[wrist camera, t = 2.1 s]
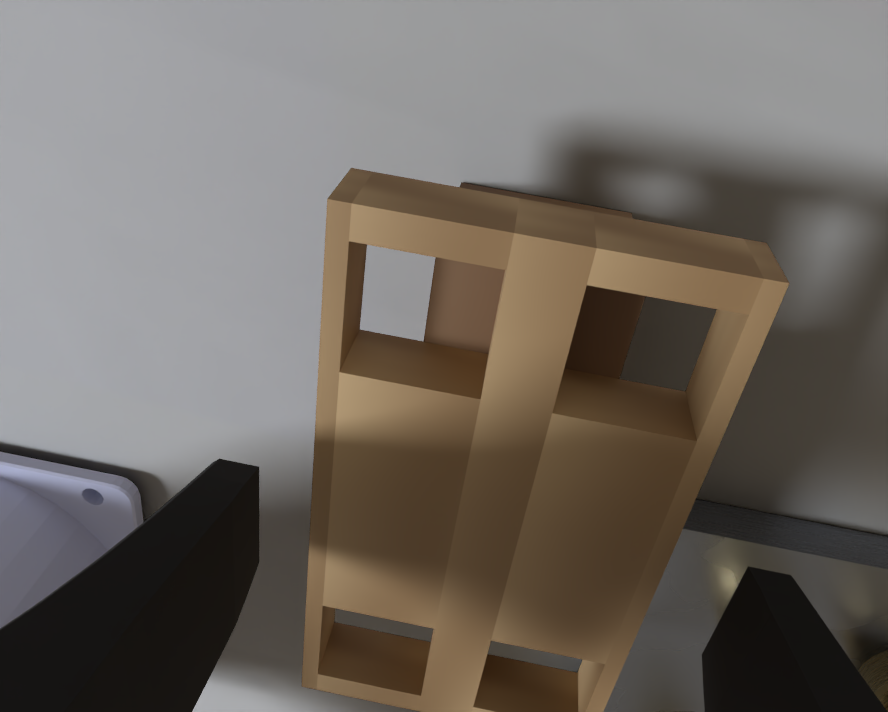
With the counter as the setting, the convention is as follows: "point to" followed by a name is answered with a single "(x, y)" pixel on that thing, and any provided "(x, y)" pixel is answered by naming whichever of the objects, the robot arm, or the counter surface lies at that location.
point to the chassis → (714, 582)
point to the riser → (477, 296)
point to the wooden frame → (508, 450)
